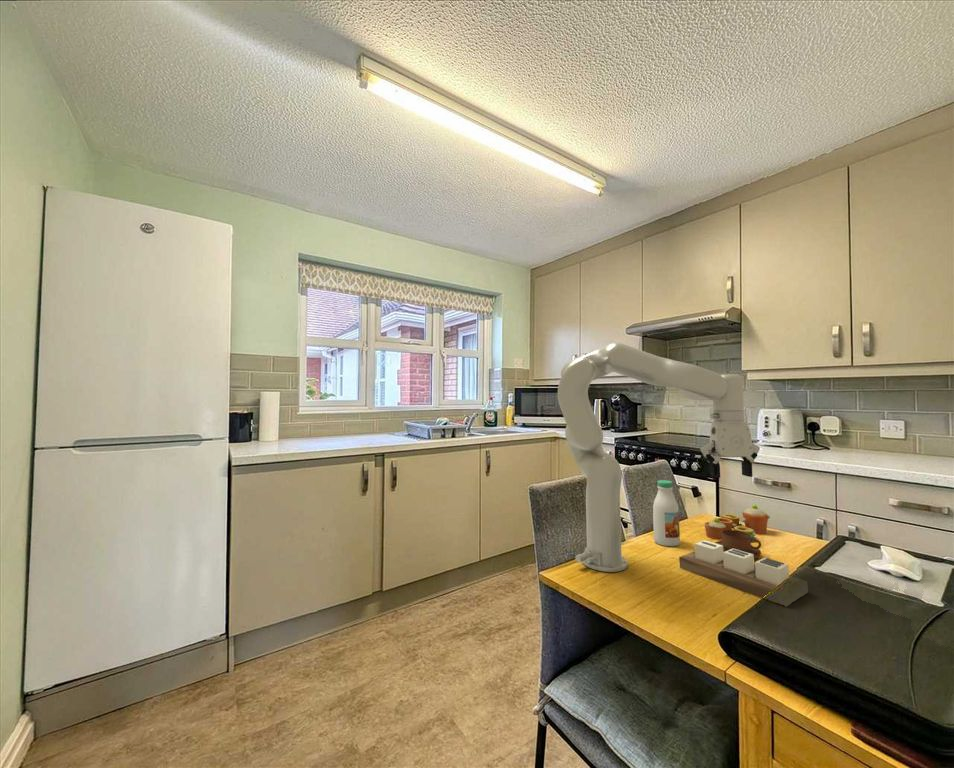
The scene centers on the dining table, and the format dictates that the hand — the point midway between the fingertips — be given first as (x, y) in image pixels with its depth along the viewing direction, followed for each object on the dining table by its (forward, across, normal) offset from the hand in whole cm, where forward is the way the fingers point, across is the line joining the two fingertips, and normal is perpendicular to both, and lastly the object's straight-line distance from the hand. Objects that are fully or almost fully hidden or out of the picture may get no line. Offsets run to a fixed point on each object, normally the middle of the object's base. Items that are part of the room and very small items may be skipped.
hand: (731, 476), depth 114 cm
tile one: (+22, -10, -3) cm, 24 cm away
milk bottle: (+25, -10, +18) cm, 32 cm away
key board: (+24, -6, -10) cm, 27 cm away
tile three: (+22, -3, -16) cm, 27 cm away
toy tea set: (+25, +19, +24) cm, 39 cm away
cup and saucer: (+25, +6, +7) cm, 26 cm away
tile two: (+22, -6, -10) cm, 25 cm away
